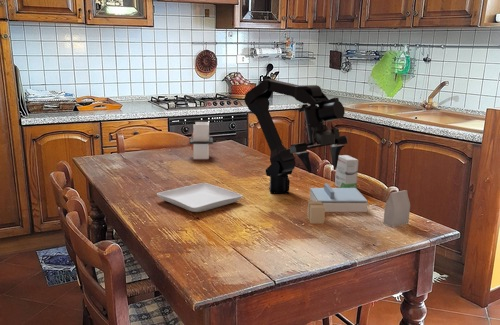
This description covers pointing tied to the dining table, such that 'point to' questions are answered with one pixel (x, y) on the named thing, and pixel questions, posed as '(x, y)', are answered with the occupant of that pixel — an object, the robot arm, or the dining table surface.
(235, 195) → the salad plate
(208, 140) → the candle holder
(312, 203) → the block
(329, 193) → the lid
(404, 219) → the grey tapered upright block
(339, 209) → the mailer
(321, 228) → the dining table surface
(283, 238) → the dining table surface
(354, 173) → the ink box
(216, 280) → the dining table surface
